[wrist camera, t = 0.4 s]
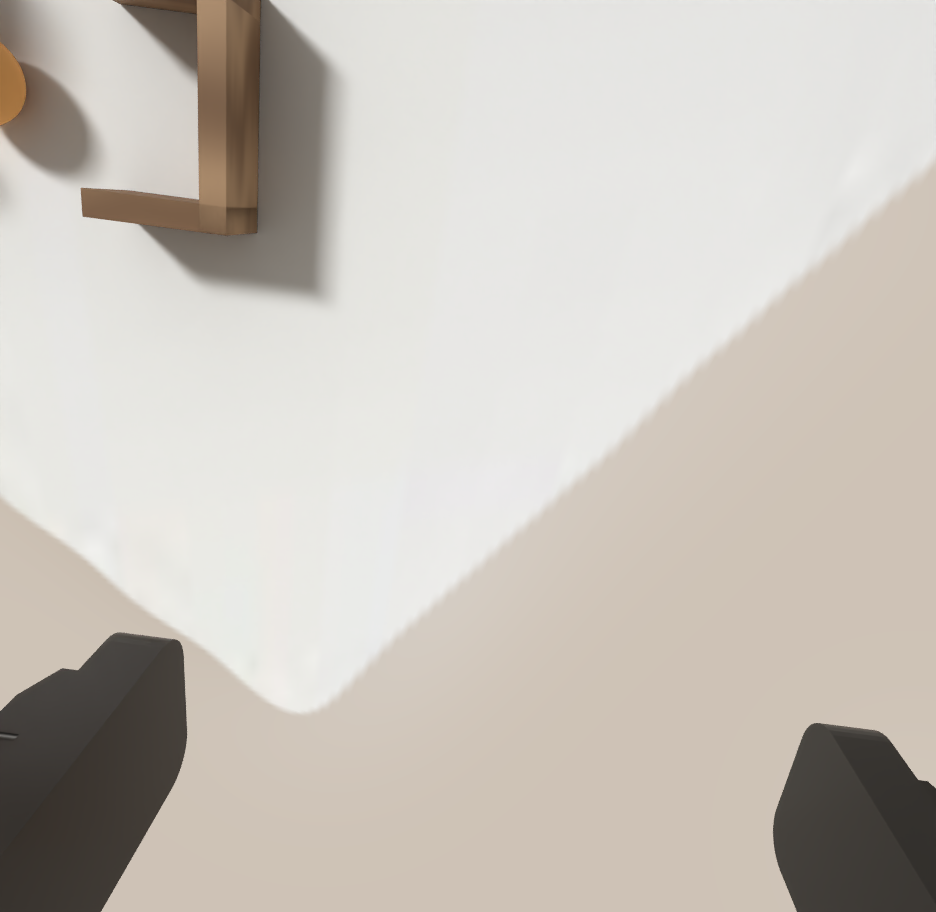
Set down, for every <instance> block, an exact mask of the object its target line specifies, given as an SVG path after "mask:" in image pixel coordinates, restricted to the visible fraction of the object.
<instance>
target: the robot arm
mask: <svg viewBox="0 0 936 912" xmlns="http://www.w3.org/2000/svg"><path fill="white" fill-rule="evenodd" d="M184 679H185V677H184V656H183V649H182V645H181V643H180V642H179V641H178V640H175V639H167V638H159V637H151V636H144V635H136V634H128V633H115V634H113V635H112V636H110V637H109V638H108V639H107V640H106V641H105V642H104V643H103V644H102V645H101V646H100V647H99V648H98V649H97V651H96V652H95V653H94V654H93V655H92V656H91V657H90V658H89V659H88V660H87V661H86V662H85V664H84V665H83V666H82V667H81V668H80V669H79V670H70V669H60V670H59V671H57V672H55V673H53V674H52V675H50V676H48V677H47V678H45V679H43V680H41V681H40V682H38V683H36V684H35V685H33V686H31V687H29V688H28V689H26V690H24V691H23V692H21V693H19V694H18V695H16V696H15V697H14V698H13V699H12V700H11V701H10V702H9V703H8V704H7V705H6V706H5V707H4V708H3V709H2V710H1V711H0V912H101V911H102V909H103V907H104V905H105V904H106V902H107V900H108V898H109V897H110V895H111V893H112V892H113V890H114V888H115V886H116V884H117V883H118V881H119V879H120V878H121V876H122V874H123V872H124V871H125V869H126V867H127V865H128V864H129V862H130V860H131V858H132V857H133V855H134V853H135V852H136V849H137V848H138V846H139V844H140V843H141V841H142V839H143V837H144V836H145V834H146V832H147V831H148V829H149V827H150V825H151V824H152V822H153V820H154V819H155V817H156V815H157V813H158V812H159V810H160V808H161V806H162V804H163V803H164V801H165V799H166V798H167V796H168V794H169V792H170V791H171V789H172V787H173V785H174V783H175V781H176V779H177V776H178V773H179V771H180V768H181V765H182V761H183V758H184V753H185V748H186V741H187V722H186V700H185V680H184ZM773 837H774V848H775V854H776V858H777V862H778V865H779V868H780V871H781V874H782V876H783V878H784V881H785V883H786V886H787V888H788V890H789V893H790V895H791V898H792V900H793V903H794V905H795V908H796V910H797V912H936V788H935V787H934V786H932V785H931V784H930V783H929V782H927V781H921V780H918V779H917V778H916V777H915V775H914V774H913V772H912V771H911V769H910V768H909V767H908V765H907V764H906V763H905V761H904V760H903V758H902V757H901V756H900V754H899V753H898V751H897V750H896V748H895V747H894V746H893V744H892V743H891V742H890V740H889V739H888V738H887V737H886V736H885V735H883V734H882V733H880V732H879V731H875V730H868V729H860V728H851V727H844V726H836V725H828V724H820V723H814V724H812V725H810V726H809V727H808V728H807V730H806V731H805V733H804V735H803V737H802V740H801V743H800V745H799V748H798V751H797V754H796V757H795V760H794V762H793V765H792V768H791V770H790V773H789V776H788V779H787V781H786V784H785V787H784V790H783V792H782V795H781V798H780V801H779V804H778V806H777V809H776V813H775V818H774V825H773Z"/></svg>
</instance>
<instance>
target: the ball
mask: <svg viewBox="0 0 936 912" xmlns="http://www.w3.org/2000/svg"><path fill="white" fill-rule="evenodd" d="M25 99H26V82H25V78H24V74H23V72H22V69H21V67H20V65H19V64H18V62H17V60H16V59H15V57H14V56H13V55H12V53H11V52H10V51H9V50H8V49H7V48H6V47H5V46H4V45H3V44H2V43H1V42H0V125H3V124H5V123H7V122H9V121H11V120H12V119H14V118H15V117H16V116H17V115H18V114H19V112H20V111H21V109H22V108H23V105H24V103H25Z"/></svg>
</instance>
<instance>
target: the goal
mask: <svg viewBox="0 0 936 912" xmlns="http://www.w3.org/2000/svg"><path fill="white" fill-rule="evenodd" d="M113 1H115V2H117V3H119V4H125V5H133V6H140V7H148V8H156V9H163V10H171V11H178V12H186V13H194V14H197V60H198V143H199V200H196V199H189V198H181V197H174V196H166V195H159V194H151V193H143V192H136V191H128V190H110V189H92V188H81V200H82V214H83V217H90V218H98V219H105V220H113V221H120V222H128V223H135V224H143V225H150V226H158V227H165V228H173V229H180V230H188V231H195V232H203V233H210V234H218V235H225V236H227V235H238V234H250V233H257V200H258V136H259V72H260V9H261V0H113Z"/></svg>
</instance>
